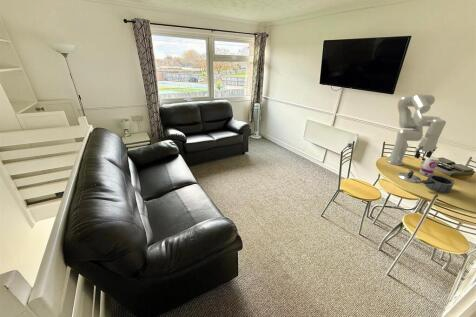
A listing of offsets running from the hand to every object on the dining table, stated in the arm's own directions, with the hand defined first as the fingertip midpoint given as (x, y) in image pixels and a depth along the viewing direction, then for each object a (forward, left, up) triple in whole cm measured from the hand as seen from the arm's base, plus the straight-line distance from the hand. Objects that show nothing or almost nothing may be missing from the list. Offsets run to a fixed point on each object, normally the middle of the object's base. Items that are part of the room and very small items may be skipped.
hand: (422, 157), depth 156 cm
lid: (-2, -1, -20) cm, 20 cm away
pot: (+13, +6, -19) cm, 24 cm away
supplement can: (-6, +18, -19) cm, 27 cm away
